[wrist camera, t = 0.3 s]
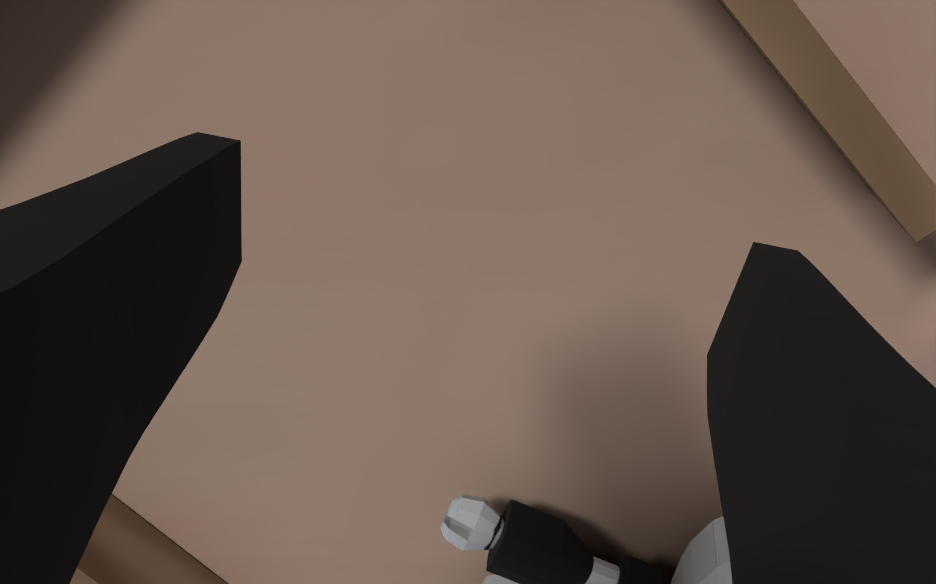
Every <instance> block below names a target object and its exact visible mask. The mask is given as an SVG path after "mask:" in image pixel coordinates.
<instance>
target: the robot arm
mask: <svg viewBox="0 0 936 584" xmlns="http://www.w3.org/2000/svg"><path fill="white" fill-rule="evenodd" d="M241 262H242V255H241V141H240V140H235V139H230V138H225V137H220V136H215V135H209V134H204V133H199V132H197V133H194V134H191V135H187V136H185V137H182V138H179V139H177V140H174V141H172V142H169V143H167V144H164V145H162V146H160V147H157V148H155V149H153V150H150V151H148V152H146V153H143V154H141V155H139V156H137V157H134V158H132V159H130V160H127V161H125V162H123V163H120V164H118V165H116V166H113V167H111V168H109V169H106V170H104V171H102V172H99V173H97V174H95V175H92V176H90V177H87V178H85V179H83V180H80V181H77V182H75V183H72V184H69V185H67V186H64V187H61V188H59V189H56V190H53V191H51V192H48V193H46V194H43V195H40V196H38V197H35V198H32V199H30V200H27V201H24V202H22V203H19V204H16V205H13V206H10V207H7V208H4V209H1V210H0V584H70V582H71V580H72V577H73V575H74V573H75V571H76V569H77V566H78V564H79V562H80V560H81V558H82V556H83V553H84V551H85V549H86V547H87V545H88V542H89V540H90V538H91V536H92V534H93V532H94V529H95V527H96V525H97V523H98V521H99V518H100V516H101V514H102V512H103V510H104V508H105V506H106V504H107V502H108V500H109V498H110V496H111V494H112V492H113V490H114V487H115V485H116V483H117V481H118V479H119V477H120V475H121V473H122V471H123V469H124V467H125V465H126V463H127V461H128V459H129V457H130V455H131V453H132V452H133V450H134V448H135V446H136V445H137V443H138V441H139V440H140V438H141V436H142V434H143V433H144V431H145V429H146V428H147V426H148V425H149V423H150V421H151V420H152V418H153V417H154V415H155V414H156V412H157V411H158V409H159V407H160V406H161V404H162V403H163V401H164V400H165V398H166V397H167V395H168V393H169V392H170V390H171V389H172V387H173V386H174V384H175V383H176V381H177V380H178V378H179V376H180V375H181V373H182V372H183V370H184V369H185V367H186V366H187V364H188V362H189V361H190V359H191V358H192V356H193V355H194V353H195V351H196V350H197V348H198V347H199V345H200V343H201V342H202V340H203V339H204V337H205V336H206V334H207V332H208V331H209V329H210V328H211V326H212V324H213V323H214V321H215V319H216V318H217V316H218V314H219V312H220V310H221V307H222V305H223V303H224V301H225V299H226V297H227V294H228V292H229V290H230V288H231V285H232V283H233V280H234V278H235V276H236V273H237V271H238V269H239V266H240V264H241ZM707 411H708V422H709V429H710V436H711V442H712V449H713V455H714V462H715V468H716V474H717V481H718V487H719V493H720V499H721V505H722V511H723V518H724V524H725V530H726V536H727V542H728V549H729V557H730V566H731V575H732V584H936V388H935V387H934V386H933V385H932V384H931V383H930V382H929V381H927V380H926V379H925V378H924V377H923V376H922V375H921V374H920V373H919V372H918V371H917V370H915V369H914V368H913V367H912V366H911V365H910V364H909V363H908V362H907V361H906V360H905V359H904V358H903V357H902V356H901V355H900V354H899V353H898V352H897V351H896V350H895V349H894V348H893V347H892V346H891V345H890V344H889V343H888V342H887V341H886V340H885V339H884V338H883V337H882V336H881V335H880V334H879V333H878V332H877V331H876V330H875V329H874V328H873V327H872V326H871V325H870V324H869V323H868V322H867V321H866V320H865V319H864V318H863V317H862V316H861V315H860V314H859V312H858V311H857V310H856V309H855V308H854V307H853V306H852V305H851V304H850V303H849V302H848V301H847V300H846V299H845V298H844V297H843V295H842V294H841V293H840V292H839V291H838V290H837V289H836V288H835V287H834V286H833V285H832V284H831V283H830V282H829V281H828V280H827V278H826V277H825V276H824V275H823V274H822V273H821V272H820V271H819V270H818V269H817V268H816V267H815V266H814V265H813V264H812V263H811V262H810V261H809V260H808V259H807V258H806V257H804V256H803V255H802V254H801V253H800V252H799V251H797V250H792V249H787V248H782V247H776V246H771V245H766V244H761V243H756V242H753V244H752V247H751V249H750V252H749V254H748V257H747V259H746V262H745V264H744V266H743V269H742V271H741V274H740V276H739V279H738V281H737V284H736V286H735V288H734V291H733V293H732V296H731V298H730V301H729V303H728V305H727V308H726V310H725V313H724V315H723V318H722V320H721V323H720V325H719V327H718V330H717V332H716V335H715V337H714V340H713V342H712V345H711V347H710V349H709V352H708V354H707Z"/></svg>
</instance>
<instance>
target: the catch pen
mask: <svg viewBox="0 0 936 584" xmlns="http://www.w3.org/2000/svg"><path fill="white" fill-rule="evenodd" d="M719 1H720V3H721V4H722V5H723V6H724V8H725V9H726V10H727V11H728V13H729V14H730V15H731V16H732V18H733V19H734V20H735V21H736V23H737V24H738V25H739V26H740V28H741V29H742V30H743V31H744V33H745V34H746V35H747V36H748V38H749V39H750V40H751V41H752V43H753V44H754V45H755V46H756V48H757V49H758V50H759V51H760V53H761V54H762V55H763V56H764V58H765V59H766V60H767V61H768V63H769V64H770V65H771V66H772V68H773V69H774V70H775V71H776V73H777V74H778V75H779V76H780V78H781V79H782V80H783V81H784V83H785V84H786V85H787V86H788V88H789V89H790V90H791V91H792V93H793V94H794V95H795V96H796V98H797V99H798V100H799V101H800V103H801V104H802V105H803V106H804V108H805V109H806V110H807V111H808V113H809V114H810V115H811V116H812V117H813V119H814V120H815V121H816V122H817V124H818V125H819V126H820V127H821V129H822V130H823V131H824V132H825V134H826V135H827V136H828V137H829V139H830V140H831V141H832V142H833V144H834V145H835V146H836V147H837V149H838V150H839V151H840V152H841V154H842V155H843V156H844V157H845V159H846V160H847V161H848V162H849V164H850V165H851V166H852V167H853V169H854V170H855V171H856V172H857V174H858V175H859V176H860V177H861V179H862V180H863V181H864V182H865V184H866V185H867V186H868V187H869V189H870V190H871V191H872V192H873V194H874V195H875V196H876V197H877V198H878V200H879V201H880V202H881V203H882V204H883V205H884V206H885V208H886V209H887V210H888V211H889V212H890V213H891V214H892V216H893V217H894V218H895V219H896V220H897V221H898V223H899V224H900V225H901V226H902V227H903V228H904V229H905V231H906V232H907V233H908V234H909V235H910V236H911V237H912V239H913V240H914V241H915V242H916V243H917V242H918V241H920V240H921V239H923V238H924V237H926V236H927V235H929V234H930V233H932V232H933V231H935V230H936V185H935V184H934V183H933V181H932V180H931V179H930V178H929V176H928V175H927V174H926V172H925V171H924V170H923V168H922V167H921V166H920V165H919V163H918V162H917V161H916V159H915V158H914V157H913V155H912V154H911V153H910V152H909V150H908V149H907V148H906V146H905V145H904V144H903V143H902V141H901V140H900V139H899V137H898V136H897V135H896V133H895V132H894V131H893V130H892V128H891V127H890V126H889V124H888V123H887V122H886V120H885V119H884V118H883V117H882V115H881V114H880V113H879V111H878V110H877V109H876V108H875V106H874V105H873V104H872V102H871V101H870V100H869V98H868V97H867V96H866V95H865V93H864V92H863V91H862V89H861V88H860V87H859V85H858V84H857V83H856V82H855V80H854V79H853V78H852V76H851V75H850V74H849V72H848V71H847V70H846V69H845V67H844V66H843V65H842V63H841V62H840V61H839V60H838V58H837V57H836V56H835V54H834V53H833V52H832V50H831V49H830V48H829V47H828V45H827V44H826V43H825V41H824V40H823V39H822V37H821V36H820V35H819V34H818V32H817V31H816V30H815V28H814V27H813V26H812V24H811V23H810V22H809V21H808V19H807V18H806V17H805V15H804V14H803V13H802V12H801V10H800V9H799V8H798V6H797V5H796V4H795V2H794V1H793V0H719ZM70 584H227V583H225V582H224V581H223V580H222V579H220V578H219V577H218V576H216V575H215V574H214V573H212V572H211V571H210V570H209V569H207V568H206V567H205V566H203V565H202V564H201V563H200V562H198V561H197V560H196V559H194V558H193V557H192V556H190V555H189V554H188V553H187V552H185V551H184V550H183V549H181V548H180V547H179V546H177V545H176V544H175V543H174V542H172V541H171V540H170V539H168V538H167V537H166V536H165V535H163V534H162V533H161V532H159V531H158V530H157V529H155V528H154V527H153V526H152V525H150V524H149V523H148V522H146V521H145V520H144V519H143V518H141V517H140V516H139V515H137V514H136V513H135V512H133V511H132V510H131V509H130V508H128V507H127V506H126V505H124V504H123V503H122V502H120V501H119V500H118V499H117V498H115V497H114V496H113V495H111V496H110V498H109V500H108V502H107V504H106V506H105V508H104V510H103V512H102V514H101V516H100V518H99V521H98V523H97V525H96V527H95V529H94V532H93V534H92V536H91V538H90V540H89V542H88V545H87V547H86V549H85V551H84V553H83V556H82V558H81V560H80V562H79V564H78V566H77V569H76V571H75V573H74V575H73V577H72V580H71V582H70Z"/></svg>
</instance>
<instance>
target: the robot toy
mask: <svg viewBox="0 0 936 584" xmlns="http://www.w3.org/2000/svg"><path fill="white" fill-rule="evenodd" d="M441 530H442V533H443V536H444V539H446V540H447V541H449V542H450V543H452V544H453V545H455V546H456V547H458V548H459V549H461V550H462V551H468V550H488V549H490V550H489V554H488V560H487V568H486V571H488V572H491V573H493V574H495V575H490V576H486V577H485V579H484V581H483V582H482V584H661V582H662V578H661V573H660V569H659V568H658V567H656V566H653V565H651V564H648V563H646V562H643V561H641V560H638V559H636V558H633V557H631V556H627V557H626V558H624V559H623V560H622V561H620V562H619V563H618V564H617V565H614V564H611V563H609V562H606V561H604V560H601V559H599V558H596V557H594V556H593V555H592V554H591V553H590V551H589V550H588V549H587V547H586V546H585V545H584V543H583V542H582V541H581V540H580V538H579V537H578V536H577V535H576V534H575V533H574V531H573V530H572V529H571V528H570V527H569V526H568V524H567V523H566V522H565V521H564V520H562V519H560V518H557V517H555V516H552V515H549V514H547V513H544V512H542V511H539V510H537V509H534V508H532V507H529V506H527V505H524V504H522V503H519V502H517V501H514V500H512V499H511V501H510V502H509V504H508V505H507V507H506V509H505V511H504V513H503V515H502V516H501V515H500V514H499V513H498V512H497V511H496V510H495V509H494V508H493V507H492V506H491V505H490V503H489V502H488V501H487V500H486V499H485V498H481V497H476V496H470V495H465V494H462V495H460V496H458V497H456V498H454V499H452V501H451V503H450V505H449V509H448V512H446V514H445V516H444V518H443V521H442V524H441ZM671 584H732V575H731V566H730V557H729V549H728V542H727V536H726V530H725V524H724V518H723V516H721V517H719V518H717V519H715V520H712V521H711V522H710V523H709V524H708V525H707V526H706V527H705V528H704V529H703V530H702V531H701V532H700V533H699V534H698V535H697V536H696V537H695V538H694V539H692V540H691V541H690V543H689V544H688V546H687V548H686V549H685V551H684V553H683V554H682V556H681V559H680V561H679V563H678V566H677V568H676V571H675V573H674V575H673V578H672V581H671Z"/></svg>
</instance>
